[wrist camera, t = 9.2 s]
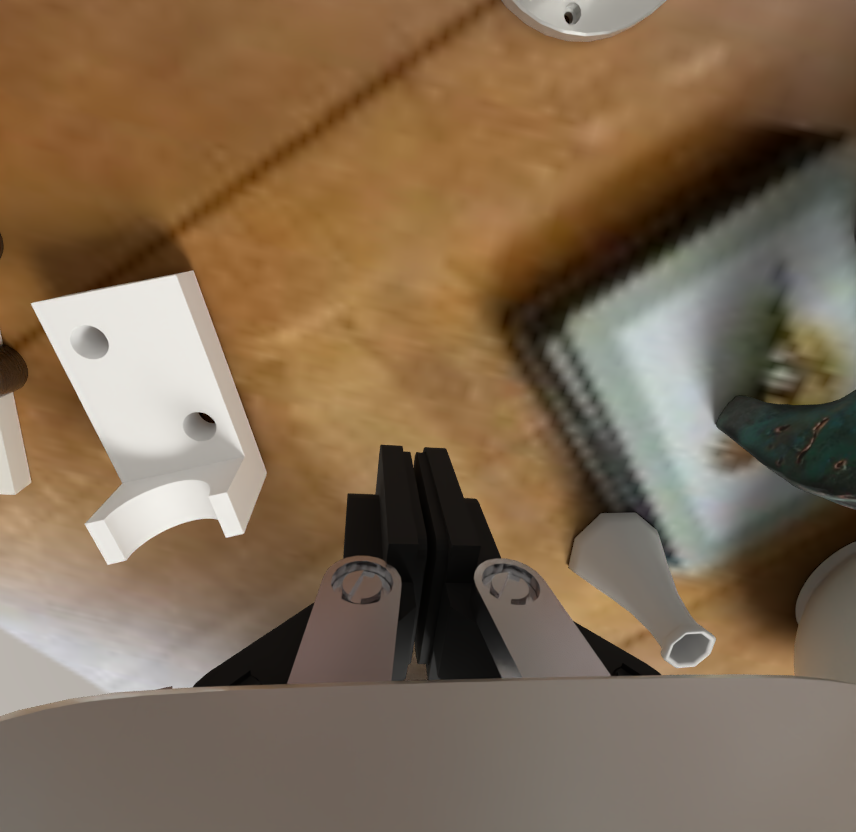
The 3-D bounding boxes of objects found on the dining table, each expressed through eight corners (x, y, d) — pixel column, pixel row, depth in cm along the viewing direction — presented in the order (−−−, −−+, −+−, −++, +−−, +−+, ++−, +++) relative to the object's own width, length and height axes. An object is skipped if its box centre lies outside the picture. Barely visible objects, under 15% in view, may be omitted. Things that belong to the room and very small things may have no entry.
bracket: (269, 466, 32) (243, 533, 25) (164, 489, 31) (107, 564, 24) (198, 269, 27) (141, 283, 20) (71, 293, 26) (-33, 318, 19)
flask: (552, 571, 38) (612, 681, 29) (595, 498, 36) (676, 592, 27) (624, 590, 40) (703, 699, 31) (669, 522, 38) (769, 617, 28)
